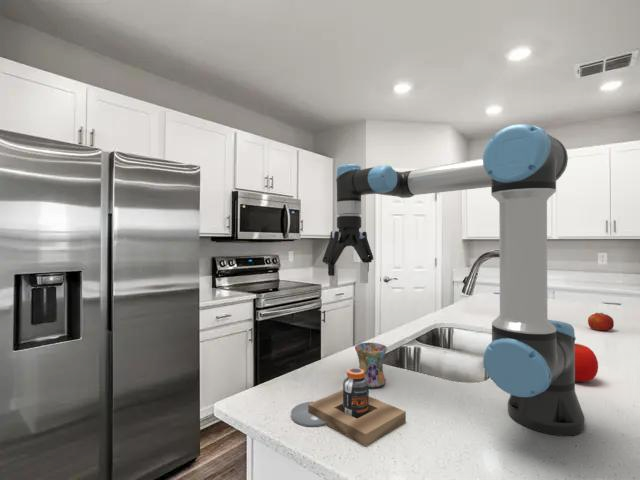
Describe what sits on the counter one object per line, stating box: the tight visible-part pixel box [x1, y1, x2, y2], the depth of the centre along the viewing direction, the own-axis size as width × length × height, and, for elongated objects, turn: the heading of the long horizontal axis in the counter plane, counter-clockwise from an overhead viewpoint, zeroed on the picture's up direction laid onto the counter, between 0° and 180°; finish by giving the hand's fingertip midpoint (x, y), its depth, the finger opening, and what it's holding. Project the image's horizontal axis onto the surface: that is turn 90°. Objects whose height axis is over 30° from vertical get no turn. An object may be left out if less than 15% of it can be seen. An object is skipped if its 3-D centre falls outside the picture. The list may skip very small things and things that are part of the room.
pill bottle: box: [342, 367, 370, 418], centre depth 84 cm, size 6×6×11 cm
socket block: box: [308, 389, 407, 447], centre depth 84 cm, size 18×14×2 cm
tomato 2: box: [587, 312, 615, 332], centre depth 163 cm, size 9×9×8 cm
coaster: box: [290, 401, 328, 428], centre depth 86 cm, size 11×11×1 cm
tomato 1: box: [575, 343, 599, 383], centre depth 106 cm, size 10×11×11 cm
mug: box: [354, 342, 388, 388], centre depth 106 cm, size 12×9×11 cm
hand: (349, 284), depth 111 cm, fingers open, 13 cm apart
